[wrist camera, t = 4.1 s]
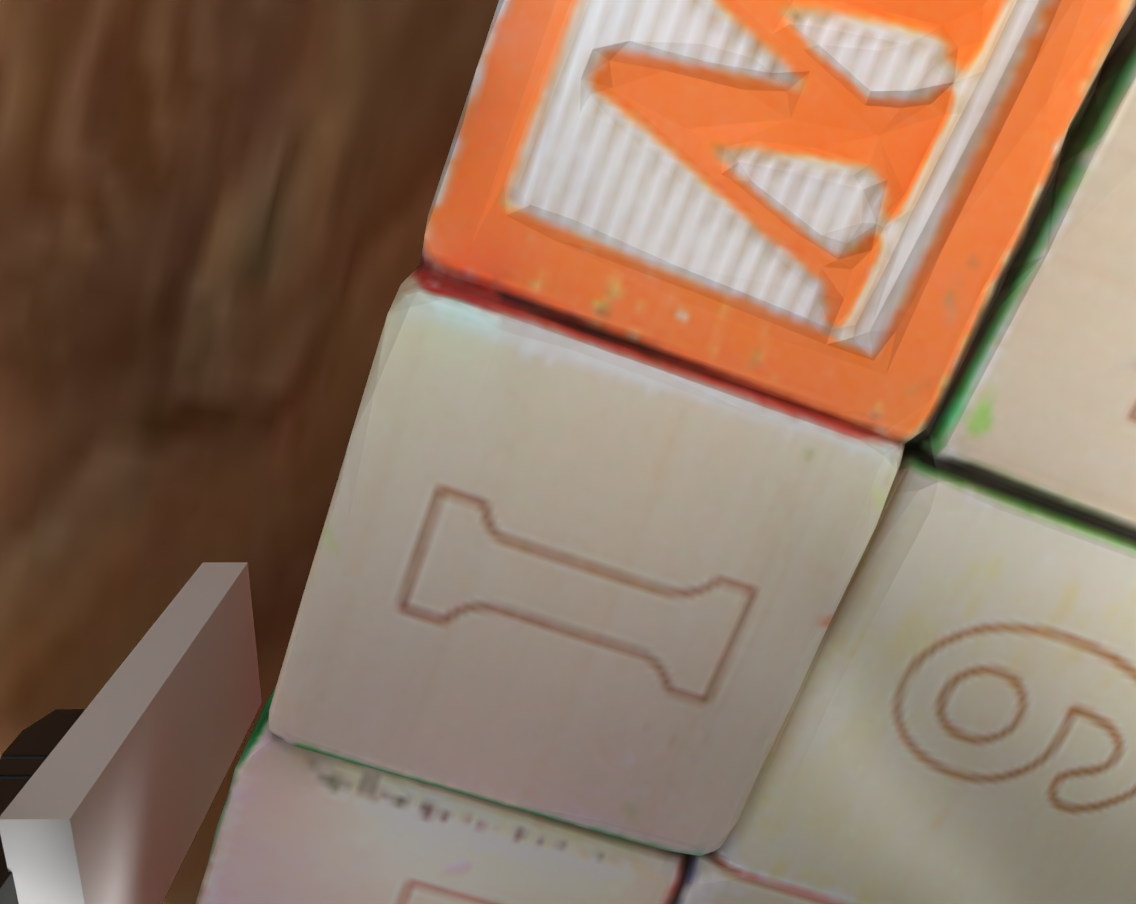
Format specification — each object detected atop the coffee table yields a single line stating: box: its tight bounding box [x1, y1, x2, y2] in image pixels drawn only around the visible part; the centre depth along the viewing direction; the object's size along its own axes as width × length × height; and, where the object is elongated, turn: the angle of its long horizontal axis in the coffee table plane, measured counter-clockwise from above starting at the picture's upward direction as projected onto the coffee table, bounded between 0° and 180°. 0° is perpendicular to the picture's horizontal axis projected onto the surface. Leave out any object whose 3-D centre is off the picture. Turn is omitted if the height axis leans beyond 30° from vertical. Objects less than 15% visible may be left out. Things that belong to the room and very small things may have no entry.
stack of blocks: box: [195, 0, 1136, 904], centre depth 13 cm, size 21×6×12 cm, turn 159°
